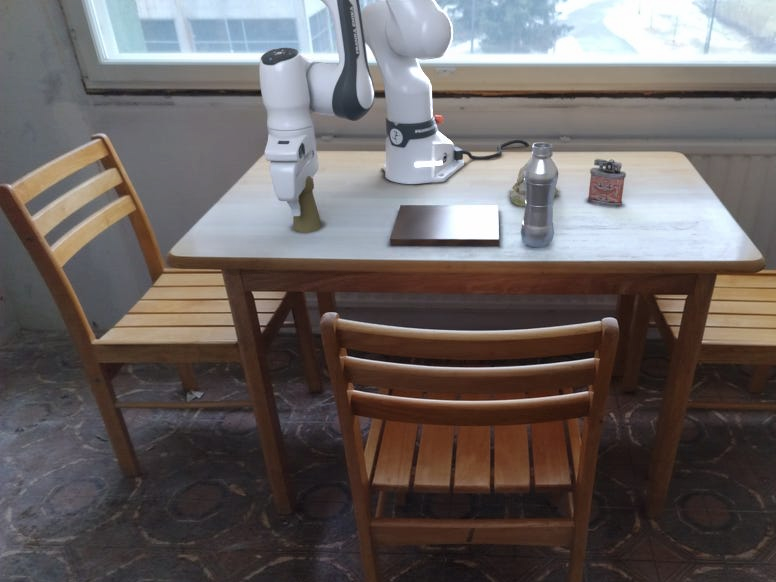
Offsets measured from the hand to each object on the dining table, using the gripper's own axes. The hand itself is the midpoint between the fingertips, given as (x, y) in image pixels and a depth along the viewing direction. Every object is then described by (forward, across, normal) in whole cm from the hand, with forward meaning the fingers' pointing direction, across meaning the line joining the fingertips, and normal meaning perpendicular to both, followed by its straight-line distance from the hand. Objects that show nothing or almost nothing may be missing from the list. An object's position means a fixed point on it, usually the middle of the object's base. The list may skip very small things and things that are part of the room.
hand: (303, 206), depth 137 cm
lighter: (+4, -16, +66) cm, 68 cm away
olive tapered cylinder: (+5, 0, 0) cm, 5 cm away
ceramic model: (+4, -19, +49) cm, 53 cm away
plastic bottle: (+4, +7, +49) cm, 50 cm away
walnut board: (+4, 0, +30) cm, 31 cm away
